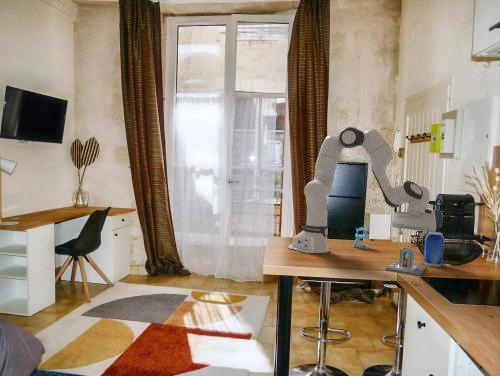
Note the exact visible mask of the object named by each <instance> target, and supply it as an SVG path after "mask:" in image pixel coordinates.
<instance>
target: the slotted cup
mask: <svg viewBox="0 0 500 376" xmlns="http://www.w3.org/2000/svg"><path fill="white" fill-rule="evenodd" d="M399 250H400V251H399V261H398V262H399V267H402V268H408V269H411V268H412V267H413V264H414V254H415V253H414V252H415V251H414V250H415V249H414V248H409V247H401V248H400V249H399ZM406 254H408V260H407V261H408V262H407V266H404V265H403V260H404V259H405V255H406Z"/></svg>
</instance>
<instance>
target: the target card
mask: <svg viewBox="0 0 500 376" xmlns="http://www.w3.org/2000/svg"><path fill="white" fill-rule="evenodd" d="M399 262H400V261H396V260H393V261H392V262H391V263H389V264H388V265H387V266H385V271H388V270H389V271H388V272H393V273H394V272H395V273H401V274H406V275H412V276H417V277H421V276H422V274H423V273H424V272H425V271H426V270H427V265H419V264H414V263H413V267H412V268H411V269H408V268H402V267H399Z"/></svg>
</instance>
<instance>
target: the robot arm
mask: <svg viewBox="0 0 500 376" xmlns="http://www.w3.org/2000/svg"><path fill="white" fill-rule="evenodd" d="M322 142H323V143H322V144H321V147H320V150H319V153H318V155H317V158H316V162H315V165H314V176H313V180H311V181H309V182H308V183H306V185H305V187H304V188H303V194H304V196H305V203H306V224H304V225H302V227H301V228H302V229H303V230H301V232H299V233H297V234H296V235H295V236H294V237H292V238H293V239H292V242H291V244H289V245H288V246H287V249H290V250H292V251H297V252H301V253H307V254H325V253H329V247H328V238H327V237H328V231H329V230H328V228H329V227H328V208H327V200H326V199H328V198H329V196H331V194H332V191H333V190H332V189H333V185H334V178H335V173H336V169H337V166H338V162H339V159H340V156H341V155H342V154H341V153H342V152H343V150H344V149H355V148H357V147H362V148H363V149H364V151H365V152H366V153H367V155H368V156H369V158H370V159H369V160H370V161H371V170H372V173H373V176H374V178H375V180H376V182H377V185H378V187H379V189H380V191H381V193H382V197H383V200H384V202H385V203H386V205H388V206H389V207H390V208H394V209H397V208H399V207H401V206H402V205H404V204H408V207H407V210H406V211H397V212H394V213H393V216H392V219H391V226H392V228H395V229H397V230H398V235H399V236H402V235H403V234H404V230H409V231H410V230H411V231H412V230H413V231H420V232H419V238H421V239H422V238H424V236H426V235H427V234H428V232H437V231H436V230H437V219H436V213H435V211H434V210H431V209H429V208H428V206H429V203H430V190H429V189H428V187H426V186H424V185H418V184H417V183H415V182H414V181H412V180H407V181H406V180H405V181H404V182H401V183H399V184H397V185H396V186H394V187H393V186H392V185H391V182H390V180H389V178H388V175H387V173H386V172H387V171H386V170H387V168H388V166H389V164H390V163H391V161H392V159H393V150H392V147H391V145H389V142H388V141H387V140H386V139H385V137H384V136H383V135H382V134H381V133H380V132H379V131H378V130H377V129H375V128H370V129H367V130H365V131H362V130H359V129H358V128H357V127H352V126H347V127H344V128H343V129H342V130H341V131H340V133H339V135H328V136H326V137H325V138H324V140H323V141H322ZM402 229H404V230H402Z"/></svg>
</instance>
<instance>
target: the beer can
mask: <svg viewBox="0 0 500 376" xmlns="http://www.w3.org/2000/svg"><path fill="white" fill-rule="evenodd" d="M424 238H425V239H424V250H423V251H424V254H423V262H424V265H425V266H428V267H435V268H437V267H441V266H442V264H443V262H444V261H443V260H444V248H445V247H444V246H445V237H444V235H443V232H439V231H438V232H437V231H435V232H427V233H426V234H425V237H424Z"/></svg>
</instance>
